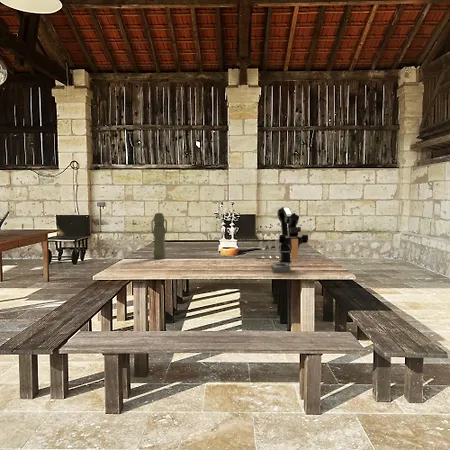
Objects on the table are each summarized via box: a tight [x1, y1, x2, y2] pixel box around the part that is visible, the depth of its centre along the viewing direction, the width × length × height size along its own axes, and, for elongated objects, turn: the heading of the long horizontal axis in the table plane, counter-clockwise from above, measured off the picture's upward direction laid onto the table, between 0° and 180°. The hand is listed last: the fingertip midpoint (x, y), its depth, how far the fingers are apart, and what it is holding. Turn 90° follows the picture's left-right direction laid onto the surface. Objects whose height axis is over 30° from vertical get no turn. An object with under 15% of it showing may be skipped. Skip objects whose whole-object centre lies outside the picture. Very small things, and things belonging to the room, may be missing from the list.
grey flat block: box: [271, 261, 291, 273], centre depth 259 cm, size 20×10×3 cm, turn 176°
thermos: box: [150, 212, 168, 260], centre depth 309 cm, size 9×12×35 cm
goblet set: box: [258, 239, 286, 259], centre depth 314 cm, size 28×6×13 cm, turn 92°
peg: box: [290, 239, 299, 260], centre depth 260 cm, size 4×4×13 cm
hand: (294, 248), depth 258 cm, fingers closed on peg, 4 cm apart
